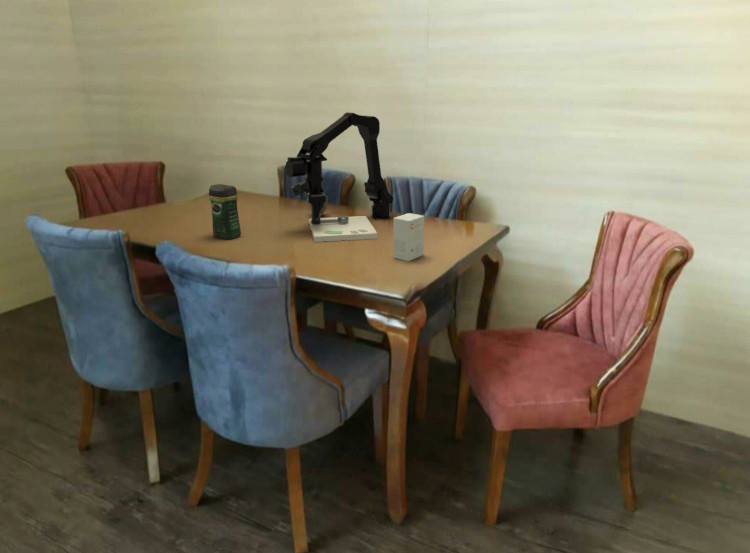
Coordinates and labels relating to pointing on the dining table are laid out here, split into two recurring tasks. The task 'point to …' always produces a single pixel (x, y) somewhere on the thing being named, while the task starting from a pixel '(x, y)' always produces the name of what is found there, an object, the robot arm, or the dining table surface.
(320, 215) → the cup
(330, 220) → the dark knobbed cylinder
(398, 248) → the small box
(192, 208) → the dining table surface
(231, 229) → the coffee jar
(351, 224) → the dial plate
